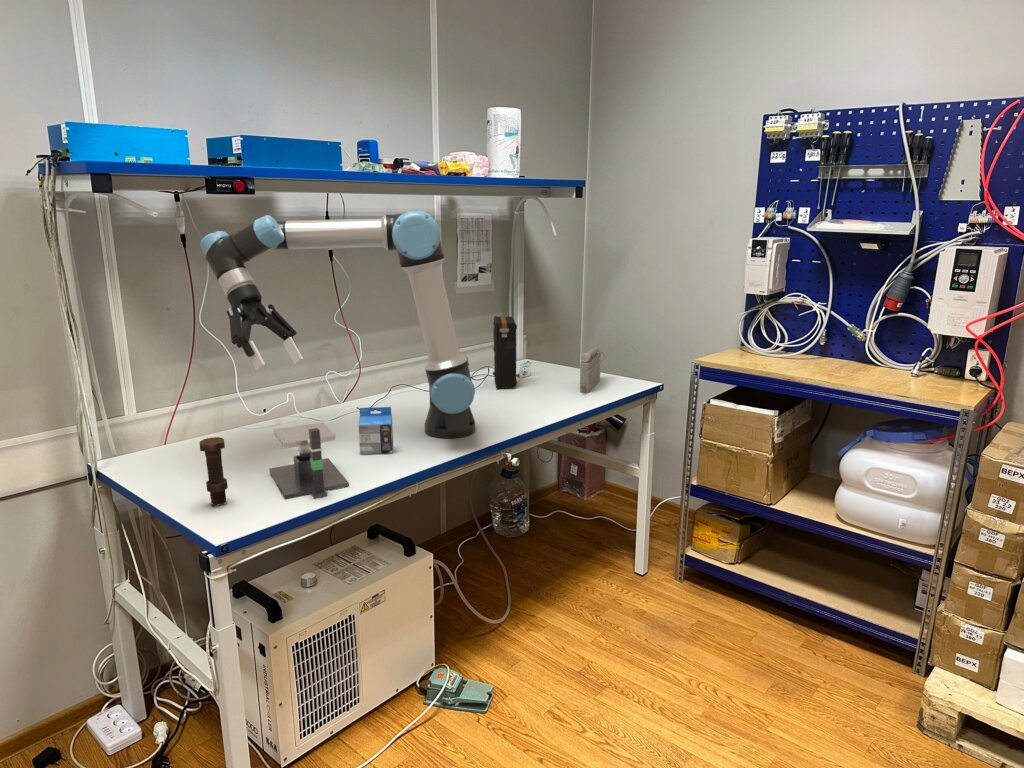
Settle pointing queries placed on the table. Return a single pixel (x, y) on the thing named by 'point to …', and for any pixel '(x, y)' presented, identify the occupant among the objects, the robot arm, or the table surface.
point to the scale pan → (302, 437)
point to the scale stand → (308, 473)
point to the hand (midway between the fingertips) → (280, 364)
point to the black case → (504, 352)
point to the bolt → (215, 469)
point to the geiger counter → (590, 369)
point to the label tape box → (375, 430)
